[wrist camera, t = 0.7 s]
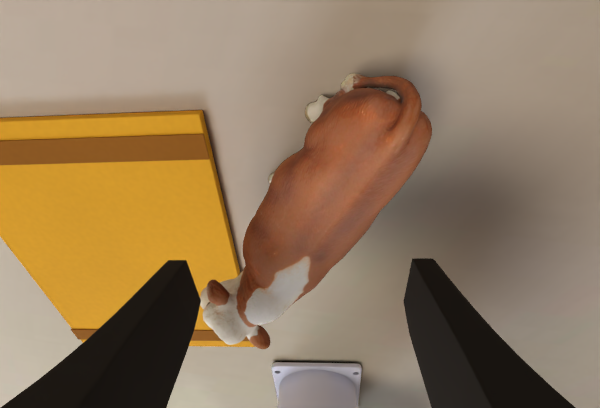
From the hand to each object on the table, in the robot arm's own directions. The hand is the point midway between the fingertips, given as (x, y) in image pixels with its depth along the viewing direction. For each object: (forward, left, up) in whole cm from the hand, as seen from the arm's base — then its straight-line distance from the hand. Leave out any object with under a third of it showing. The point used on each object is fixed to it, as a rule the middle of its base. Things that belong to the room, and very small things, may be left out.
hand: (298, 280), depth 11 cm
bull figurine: (0, 0, -9) cm, 9 cm away
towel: (-7, +12, -8) cm, 17 cm away
